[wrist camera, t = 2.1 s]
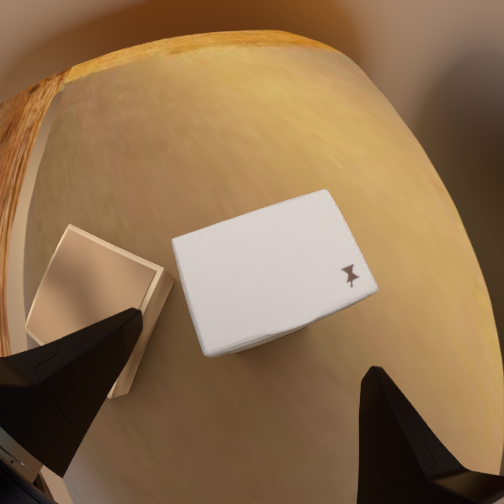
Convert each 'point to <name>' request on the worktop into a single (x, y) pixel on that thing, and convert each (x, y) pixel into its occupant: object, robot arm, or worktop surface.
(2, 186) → the worktop surface
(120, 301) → the plinth
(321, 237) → the skincare box
